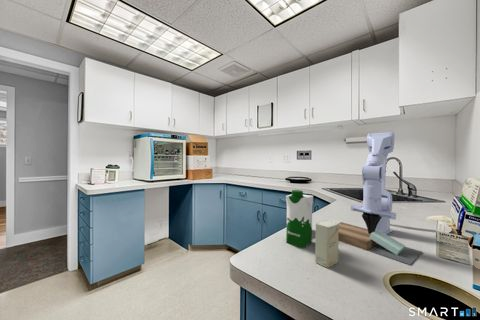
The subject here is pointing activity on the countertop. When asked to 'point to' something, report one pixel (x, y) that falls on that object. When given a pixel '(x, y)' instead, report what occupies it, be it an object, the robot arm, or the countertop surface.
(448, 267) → the countertop surface
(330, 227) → the skincare box
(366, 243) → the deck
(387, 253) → the mat
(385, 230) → the robot arm
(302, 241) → the milk carton
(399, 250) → the mint green flat block
